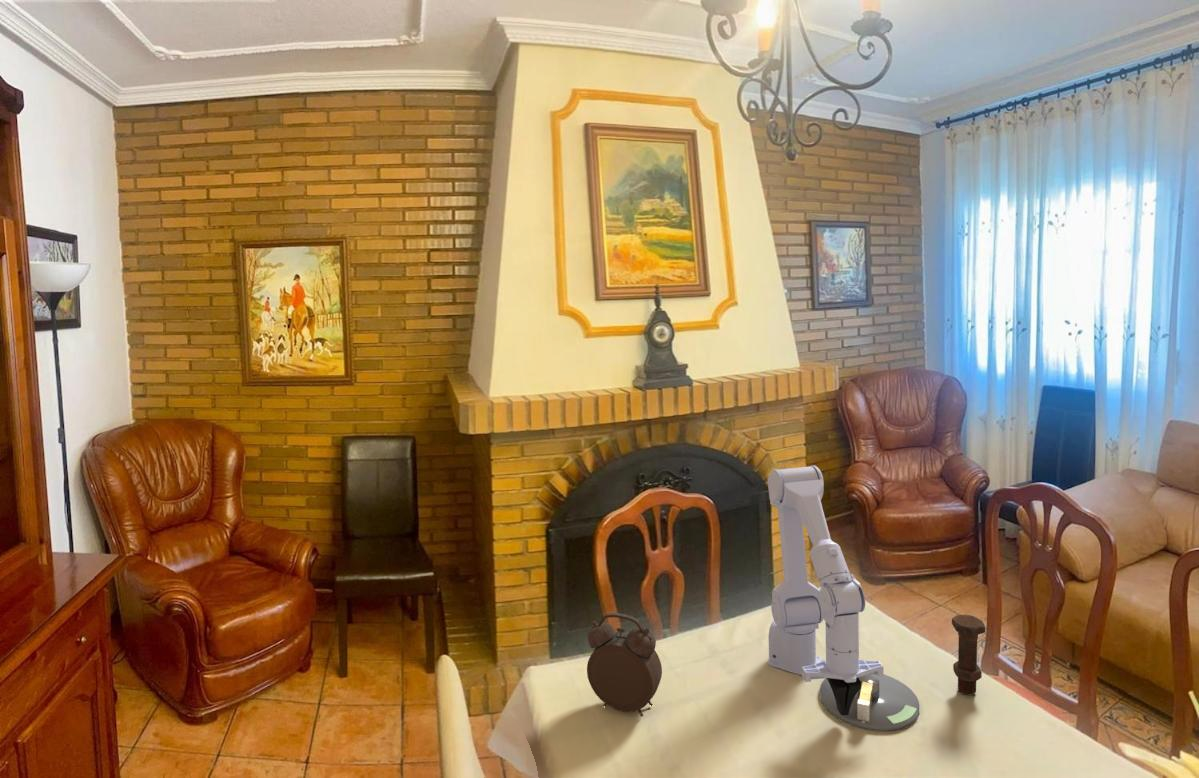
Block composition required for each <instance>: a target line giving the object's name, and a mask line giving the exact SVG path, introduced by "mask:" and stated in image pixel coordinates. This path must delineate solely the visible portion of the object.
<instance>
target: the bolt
mask: <svg viewBox="0 0 1199 778" xmlns="http://www.w3.org/2000/svg"><path fill="white" fill-rule="evenodd" d="M951 625H952V626H953V628H954V630H955V632H957V635H958V643H957V644H958V650H957V652H958V654H957V661H955V662H954V663H953V664H952V667H953V668H952V669H953V672H954V675H955V676H956V677H957V690H958V691H959V693H961V694H962V693H963V694H962V695H965V694H972V695H974V694H976V693H977V681H979V680H980V679H981V678H982V677H983V676H982V675H983V674H982V670H981V667H980V666H979V665H978V639H979V635H981V634H985V633H986V625H985V623H984V622H983V620H982V619H980V618H978V617H977V616H973V615H970V614H956V615H954V616H953V617H952V618H951Z"/></svg>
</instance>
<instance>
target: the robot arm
mask: <svg viewBox="0 0 1199 778" xmlns="http://www.w3.org/2000/svg"><path fill="white" fill-rule="evenodd" d="M824 483H825V481H824V476H823V473H822V471H821V470H820V468H819V467H817V465H815V464H814V465H809V466H803V467H800V466H799V467H793V468H792V467H791V468H790V467H789V468H781V469H778V468H777V469H775V468H773V469H772V470H771V471H770V473H769V476H768V477H767V486H768V496H769V501H770V505H772V506H774V507H776V509H777V515H778V528H779V538H780V549H781V559H782V560H781V562H782V571H783V580H782V581H781V582H780V583H779V584H778V585H777V586H776V587H774V589H772V593H771V596H772V598H771V599H772V600H771V603H770V604H771V606H770V608H771V615H772V619H773V620H772V622H771V623H770V626H769V631H768V661H767V665H768V666H771V667H774V668H776V669H777V668H778V669H780V670H783V671H787V672H790V673H793V674H796V675H798V676H802V678H803V680H804V682H805V683H810V682H812V680H821V679H822V680H823V679H824V680H825V679H826V678H827V680H828V682H829V684H830V686H831V688H832V691H833V694H834V697H835V700H836V704H837V709H838V711H839V713H840V714H841V715H849V710H850V707H851V704H852V701H853V699H854V697H855V695H856V694H857V692H858V691H859V690H860V689H861V681H860V680H859V677H861V676H864V675H873V674H876V675H877V676H883V674H884V665H883V664H882V663H881V662H880V660H867V659H866V660H865V659H860V649H859V648H860V634H859V633H860V631H859V630H860V623H859V622H860V621H859V620H860V619H859V617H860V614H859V613H862V612H864V611H865V609H866V597H865V592H864V590H863V586H862V585H861V583H860V582H859V581H858V580H857V579H856V576H855V574H853V573H850V570H849V568H848V564H847V562H846V560H845V557H844V554H843V551H842V548H841V546H840V545H839V544H838V543H836V542H835V541H833V540H832V538H831V534H830V530H829V527H828V524H827V520H826V516H825V512H824V510H823V504H822V498H823V497H824V491H825V490H824V486H825V485H824ZM804 528H805V530H806V533H807V535H808V537H809V540H810V541H811V544H812V547H811V549H810V551H809V557H810V558H811V559H810V560H811V562H812V565H813V568H814V571H815V574H816V577H817V579H818V582H819V585H820V589H819V587H817V586H816V585H814V584H813V583H812V582H810V581H809V580H808V579H809V578H808V568H807V557H806V545H805V536H804V535H805V534H804ZM823 621H824V622H825V660H824V659H823V657H820V656H817V647H816V646H817V644H816V638H817V637H816V634H817V633H816V632H817V631H816V630H818V629H819V628H820V627H819V626H820V625H819V624H821V623H823Z"/></svg>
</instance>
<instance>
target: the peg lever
mask: <svg viewBox="0 0 1199 778" xmlns="http://www.w3.org/2000/svg"><path fill="white" fill-rule="evenodd" d="M859 680H860V681H861V689H860V690H859V691H858V692H857V694H858V696H859V699H858V702H857V719H860V720H864V721H868V722H869V719H870V711H871V705H872V701H876V700H878V699H879V680H878V679H877V678H876V677H874V676H871V675H864V676H861V677H859Z"/></svg>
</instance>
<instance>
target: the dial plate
mask: <svg viewBox="0 0 1199 778" xmlns="http://www.w3.org/2000/svg"><path fill="white" fill-rule="evenodd" d="M871 676H874V677H876V678H877V679H878V680H879V699H878V700H876V701H872V705H871V711H870V719H869V722H868V721H864V720H860V719H857V702H858V699H859V696H858V694H856V695H855V697H854V699H853V701H852V704H851V707H850V710H849V715H841V714H840V713H839V711H838V709H837V704H836V700H835V697H834V694H833V691H832V688H831V686H830V684H829V682H828V680H827V678H824V680H823V681H822V682H821V683H820V687H819V697H820V700H821V704H822V705H823V707H824V708H825V709H826V711H828V713H829V714H831V715H832V716H833V717H835V718H836V719H838V720H839V721H841V722H843V723H845V724H847V725H850V726H852V727H856V728H858V729H862V730H866V731H873V732H884V733H885V732H895V731H900V730H904V729H906V728H908V727H910V726H912V725H913V724H914V723H915V722H916V721H917V720H918V718H919V715H920V702H919V699H918V697H917V695H916V694H915V692H914V691H913V690H912V689H911V688H910V687H909V686H908V685H906V684H905V683H904V682H902V681H900V680H898V679H896V678H894V677H892V676H889V675H888V674H884V673H883V676H877V675H876V674H873V675H871Z"/></svg>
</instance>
